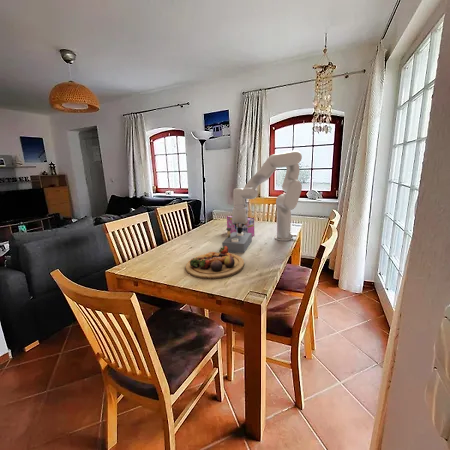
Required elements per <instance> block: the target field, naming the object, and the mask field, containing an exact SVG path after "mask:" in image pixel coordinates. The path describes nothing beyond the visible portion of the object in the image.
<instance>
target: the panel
mask: <svg viewBox="0 0 450 450" xmlns="http://www.w3.org/2000/svg"><path fill="white" fill-rule="evenodd" d="M237 233H238V232H232V233H230V235H231V237H230V238H228V236H227V237H226V238H225V239H224V240H223V241H222V242H221V244H222V248H223V246H227V247H228V252H229V253H237V254H245V253H246V251H247V249H248V248H249V246H250V245H251V244H252V241H253V239H252V238H253V236H252V233H243V234H244V236H237ZM233 238H237V239H238V241H239V242H232V239H233Z"/></svg>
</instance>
